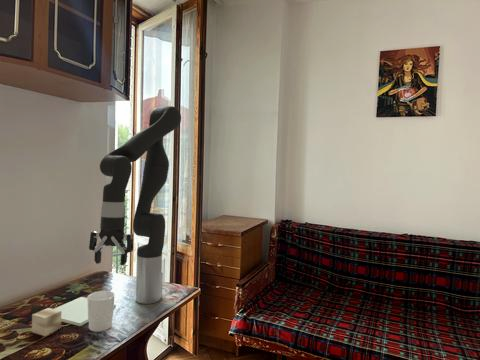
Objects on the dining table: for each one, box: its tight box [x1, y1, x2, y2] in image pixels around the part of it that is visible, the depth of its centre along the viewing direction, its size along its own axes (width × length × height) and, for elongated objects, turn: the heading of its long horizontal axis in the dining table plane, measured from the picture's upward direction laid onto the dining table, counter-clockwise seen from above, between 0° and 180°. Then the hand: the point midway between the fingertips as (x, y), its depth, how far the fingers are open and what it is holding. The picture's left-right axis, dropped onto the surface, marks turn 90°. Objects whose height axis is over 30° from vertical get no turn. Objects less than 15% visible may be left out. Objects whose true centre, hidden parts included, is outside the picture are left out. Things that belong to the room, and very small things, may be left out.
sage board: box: [54, 296, 117, 327], centre depth 118 cm, size 16×16×1 cm
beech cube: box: [31, 307, 62, 337], centre depth 104 cm, size 6×6×6 cm
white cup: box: [86, 290, 115, 333], centre depth 107 cm, size 8×8×10 cm
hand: (110, 264), depth 114 cm, fingers open, 8 cm apart
